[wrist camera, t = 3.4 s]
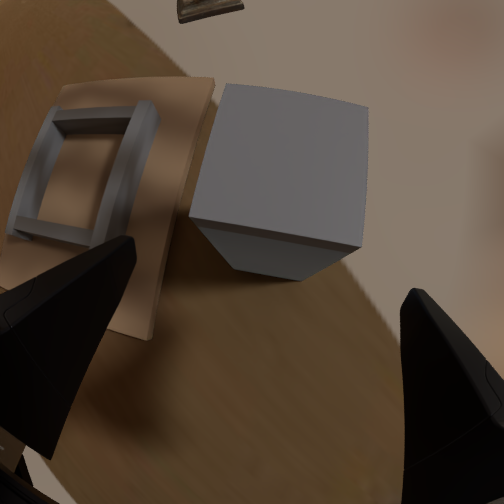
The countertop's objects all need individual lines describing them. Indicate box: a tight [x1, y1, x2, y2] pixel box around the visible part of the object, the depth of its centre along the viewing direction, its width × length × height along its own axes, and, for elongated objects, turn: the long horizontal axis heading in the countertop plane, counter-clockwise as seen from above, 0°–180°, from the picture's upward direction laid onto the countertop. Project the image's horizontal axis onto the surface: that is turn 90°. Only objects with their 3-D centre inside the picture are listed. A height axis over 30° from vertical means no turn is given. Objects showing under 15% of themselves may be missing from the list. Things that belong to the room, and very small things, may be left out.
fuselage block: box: [189, 84, 368, 281], centre depth 14 cm, size 4×4×12 cm
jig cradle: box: [0, 77, 215, 341], centre depth 19 cm, size 20×16×4 cm
